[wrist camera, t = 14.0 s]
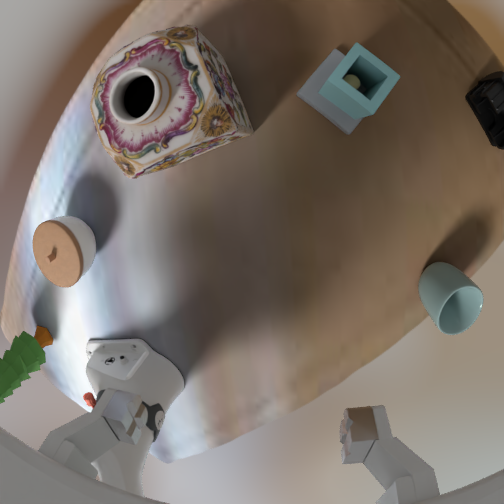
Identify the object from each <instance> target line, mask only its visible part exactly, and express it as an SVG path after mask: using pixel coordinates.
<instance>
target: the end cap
mask: <svg viewBox="0 0 504 504" xmlns="http://www.w3.org/2000/svg"><path fill="white" fill-rule="evenodd" d="M478 83H479V84H478V85H477V86H476V87H474V88H473V89H472V90H471V91H470V92H469V93H468V94H467V95H466V96H465V98H466V100H467V102H468V104H469V105H470V107H471V109H472V110H473V112H474V114H475V115H476V117H477V119H478V121H479V122H480V124H481V126H482V128H483V130H484V131H485V133H486V135H487V137H488V139H489V141H490V143H491V145H492V146H495V147H496V146H497V148H499V149H503V150H504V72H502V71H499V72H495V73H492V74H489V75H487V76H486V77H484V78H482V79H481V80H480V81H479V82H478Z"/></svg>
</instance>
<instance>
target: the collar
mask: <svg viewBox="0 0 504 504" xmlns="http://www.w3.org/2000/svg"><path fill="white" fill-rule="evenodd" d="M345 73H347V74H348V75H355V76H356V77H358V79H359V80H360V84H362V85H363V86H364V87H366V88H367V89H366V91H365V92H364V94H361V93H360V92H359V91H357V90H356V89H355V88H354V87H352V86H351V85H350V84H348V83H347V82H345V81H344V80H343V79H342V77H343V76H344V75H345ZM400 77H401V76H399V75H398V74H397V73H396V72H395V71H393V70H392V69H391V68H390V67H389V66H387V65H386V64H385V63H384V62H382V61H381V60H380V59H378V58H377V57H376V56H375V55H373V54H372V53H371V52H369V51H368V50H367V49H365V48H364V47H362V46H361V45H360V44H358V43H357V42H356V43H355V45H354V46H353V47H352V48H351V50H350V51H349V52H348V53H347V55H346V56H345V57H344V59H343V60H342V61H341V62H340V64H339V65H338V66H337V68H336V69H335V70H334V72H333V73H332V74H331V75H330V77H329V78H328V79H327V81H326V82H325V84H324V85H323V86H322V88H321V89H320V91H319V92H318V93H319V94H321V95H322V96H323V97H325V98H326V99H328V100H329V101H331V102H332V103H333V104H335V105H336V106H337V107H339V108H340V109H341V110H343V111H344V112H345V113H347V114H348V115H349V116H351V117H352V118H353V119H354V120H355V119H359V118H362V117H366V116H370V115H373V114H374V113H375V112H376V110H377V109H378V107H379V106H380V105H381V103H382V102H383V101H384V99H385V98H386V96H387V95H388V94H389V92H390V91H391V89H392V88H393V87H394V85H395V84H396V83H397V81H398V80H399V78H400Z"/></svg>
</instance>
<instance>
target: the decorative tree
mask: <svg viewBox="0 0 504 504" xmlns="http://www.w3.org/2000/svg"><path fill="white" fill-rule="evenodd" d="M52 343H53V338H52V337H51V335H50V333H49V331H48V330H47V328H44V327H41V326H37V328H36V332H35V336H34V337H33V336H31V335H29V334H28V333H26V332H25V331H23V332H22V333H21V335H20V336H19V338H18V337H17V336H15V338H14V340H13V343H12V346H11V349H10V350H6V351H5V353H4V356H3V359H1V358H0V403H3V402H5V400H4V399H3V398H5V397H8V396H10V395H12V394H13V391H12V390H14V389H16V388H18V387H20V386H21V381H23V380H26V379H29V378H31V377H30V376H29V375H28V373H31V372H34V371H38V370H40V365H41V364H43V363H45V362H46V360H45V352H44V350H43V349H42V348H44V347H45V346H48V345H52Z"/></svg>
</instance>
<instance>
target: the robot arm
mask: <svg viewBox="0 0 504 504" xmlns="http://www.w3.org/2000/svg"><path fill="white" fill-rule="evenodd" d="M86 351H87V356H88V359H89V361H88V363H87V366H86V374H87V377H88V380H89V382H90V384H91V386H92V388H93V390H94V392H95V394H96V396H97V399H96V400H95V399H94V396H93V394H92V393H90V392H88V393H85V395H84V396H83V398H84V400H85V401H86V402H87V405H88V406H92V408H93V409H92V412H91V413H90V412H88V413H86V414H84V415H82V416H80V417H78V418H77V419H75V420H73V421H71V422H69V423H67V424H65V425H63V426H61V427H59V428H57V429H55V430H53V431H51V432H50V433H49V435H48V436H47V438H46V439H45V441H44V442H43V444H42V445H41V447H40V449H39V450H38V451H37V450H35V449H34V448H32V447H30V446H29V445H27V444H25V443H24V442H22V441H20V440H19V439H17V438H16V437H14V436H13V435H11V434H10V433H8V432H7V431H6V430H4V429H3V428H1V427H0V504H168V503H165V502H161V501H157V500H153V499H150V498H146V497H145V496H144V493H143V488H142V473H143V468H144V465H145V461H146V458H147V455H148V452H149V449H150V447H151V444H152V443H153V442H155V440H156V438H157V436H158V434H159V432H160V429H161V428H162V425H163V422H164V419H165V414H166V412H167V411H168V409H169V407H170V406H171V404H172V403H173V401H174V400H175V399H176V398H177V397H178V395H179V394H180V393H181V392H182V391H183V389H184V380H183V377H182V375H181V373H180V371H179V370H178V369H177V368H176V366H175V365H174V364H172V363H171V362H170V361H169V360H168V359H166V358H165V357H163V356H162V355H160V354H158V353H157V352H155V351H154V350H152V348H151V347H150V346H149V345H148V344H147V343H146V342H144V341H143V340H141V339H120V340H91V341H88V343H87V346H86ZM340 442H341V443H342V444H343V447H342V450H341V455H342V464H352V463H363V462H364V463H363V464H364V465H365V466H366V468H367V469H368V470H369V471H370V472H371V473H372V475H373V476H374V477H375V478H376V479H377V480H378V482H379V483H380V484H381V485H382V486H383V487H384V489H385V490H386V492H385V493H384V494H383V495H382V496H381V498H380V499H379V500H378V501H377V502H376V504H504V469H503V470H501V471H499V472H497V473H495V474H492V475H490V476H488V477H486V478H484V479H481V480H479V481H477V482H474V483H472V484H469V485H467V486H464V487H462V488H459V489H456V490H454V491H451V492H448V493H445V494H442V495H440V493H439V489H438V484H437V480H436V476H435V472H434V469H433V468H432V467H431V466H430V465H428V464H427V463H426V462H424V460H422V459H421V458H420V457H419V456H418V455H416V454H415V453H414V452H413V451H412V450H411V449H409V448H408V447H407V446H406V445H405V444H404V443H402V442H401V441H400V440H399V439H398V438H397V437H392V433H391V429H390V425H389V421H388V417H387V413H386V409H385V407H384V406H383V405H379V406H371V407H370V406H367V407H358V408H348V409H345V411H344V419H343V420H342V421H341V425H340ZM97 474H98V475H99V478H100V481H98V480H95V478H96V476H97Z"/></svg>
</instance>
